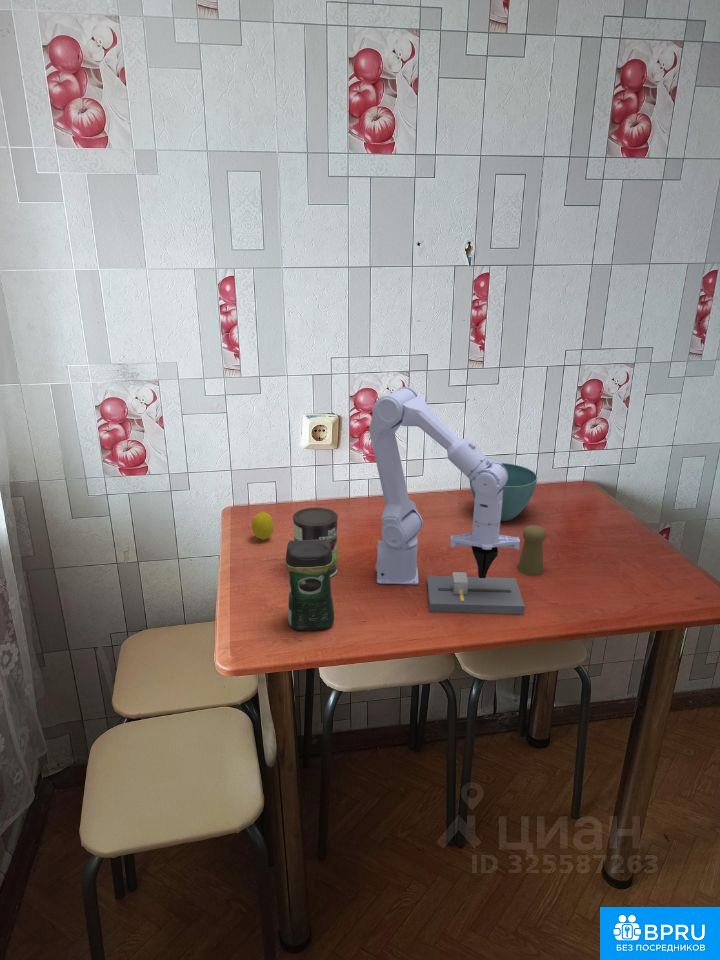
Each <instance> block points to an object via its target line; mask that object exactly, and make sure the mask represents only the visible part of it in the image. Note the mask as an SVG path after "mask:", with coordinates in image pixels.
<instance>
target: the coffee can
mask: <svg viewBox="0 0 720 960" xmlns="http://www.w3.org/2000/svg"><path fill="white" fill-rule="evenodd" d="M292 521H293V541H296V540H316V539H328V540H329V542H330V546H331V551H332V556H333V564H332V567H331V569H330V579H331V578H333V577H334V576H335V575H336V574H337V573H338V514H337V512H336V511H334V510H332V509H329V508H326V507H307V508H303V509H300V510H298V511H295V512H294V514H293V515H292Z"/></svg>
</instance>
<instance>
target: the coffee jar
mask: <svg viewBox="0 0 720 960" xmlns="http://www.w3.org/2000/svg"><path fill="white" fill-rule="evenodd" d="M285 553H286V554H285V559H284V560H285V567H286V569H287V572H288V579H289V582H288V583H289V587H288V588H289V589H288V606H287V620H288V625H289V626H290V627H291V628H292V629H294V630H297V631H316V630H324V629H329V628H330V627H331V626H332V625H333V624H334V621H335V609H334V608H335V607H334V600H333V595H332V587H331V586H332V585H331V578H330V569H331V567H332V564H333V556H332V551H331V546H330V542H329V540H328V539H316V540H296V541H294V540H289V541H288V543H287V546H286V552H285Z"/></svg>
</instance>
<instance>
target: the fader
mask: <svg viewBox="0 0 720 960" xmlns="http://www.w3.org/2000/svg"><path fill="white" fill-rule="evenodd" d="M451 576H452V588H453V594H463V595H467V591H468V579H467V577H468V575H467V572H460V571H459V572H458V571H457V572H456V571H453V572H452V575H451Z"/></svg>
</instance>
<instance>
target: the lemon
mask: <svg viewBox="0 0 720 960" xmlns="http://www.w3.org/2000/svg"><path fill="white" fill-rule="evenodd" d="M251 522H252V523H251V530H252V533H253V535H254V536H255V537H256V538H258V539H260V540H261V541H265V540H266V539H268V538H270V537H271V536H272V535H273V533H274V529H275V527H274V520H273V518H272V515H270V514H269V513H268V512H265V511H263V510H262V511H259V512H258V513H256V514H255V515H254V516H253V519H252V521H251Z"/></svg>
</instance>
